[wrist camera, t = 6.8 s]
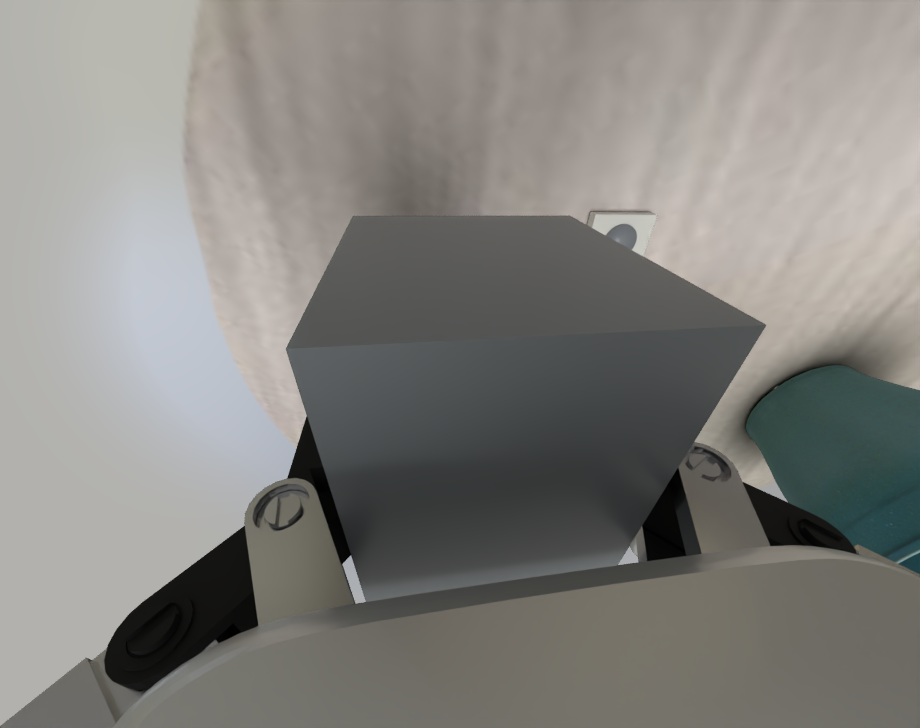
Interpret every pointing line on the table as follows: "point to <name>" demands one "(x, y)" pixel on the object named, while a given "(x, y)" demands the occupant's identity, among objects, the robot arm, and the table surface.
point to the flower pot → (847, 455)
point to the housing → (502, 394)
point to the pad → (625, 227)
